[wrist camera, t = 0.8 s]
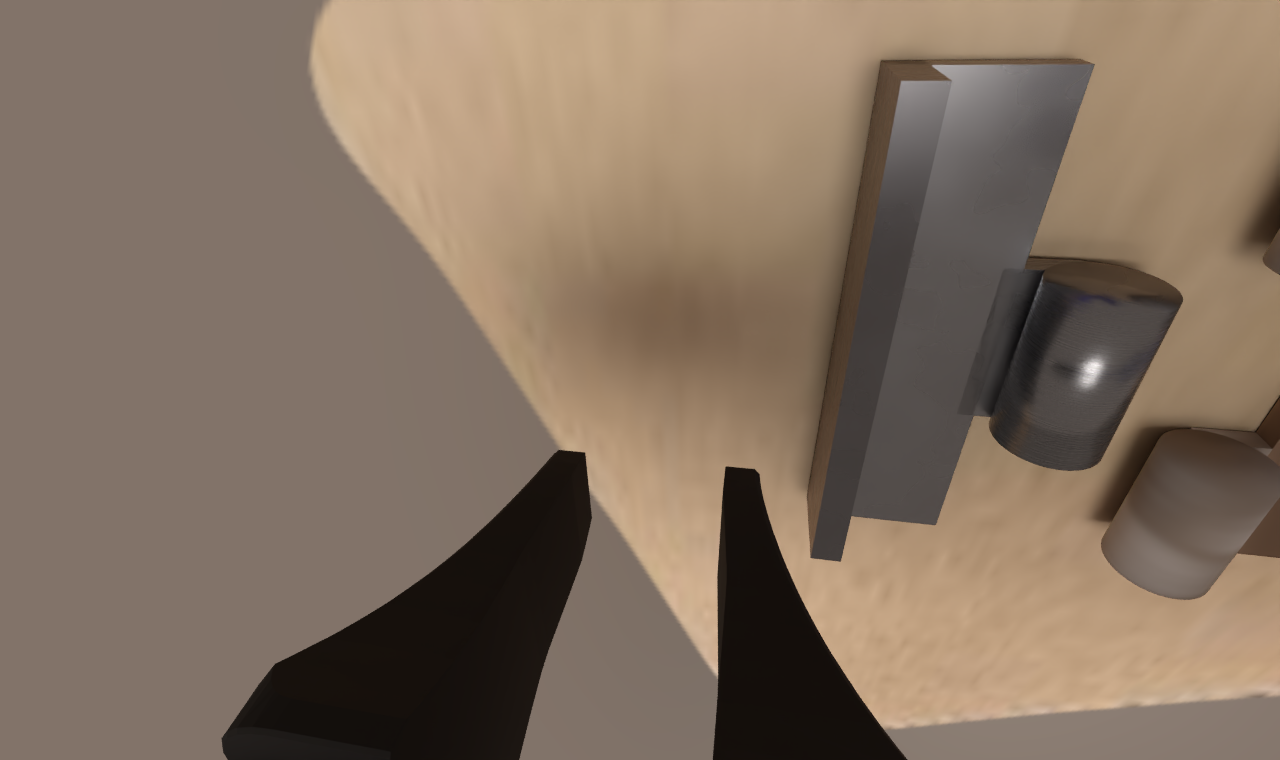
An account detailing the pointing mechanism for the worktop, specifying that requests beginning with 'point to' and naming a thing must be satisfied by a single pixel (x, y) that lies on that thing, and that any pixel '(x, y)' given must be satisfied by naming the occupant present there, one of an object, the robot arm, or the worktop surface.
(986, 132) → the metal hinge
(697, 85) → the worktop surface
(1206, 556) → the fixed leaf
